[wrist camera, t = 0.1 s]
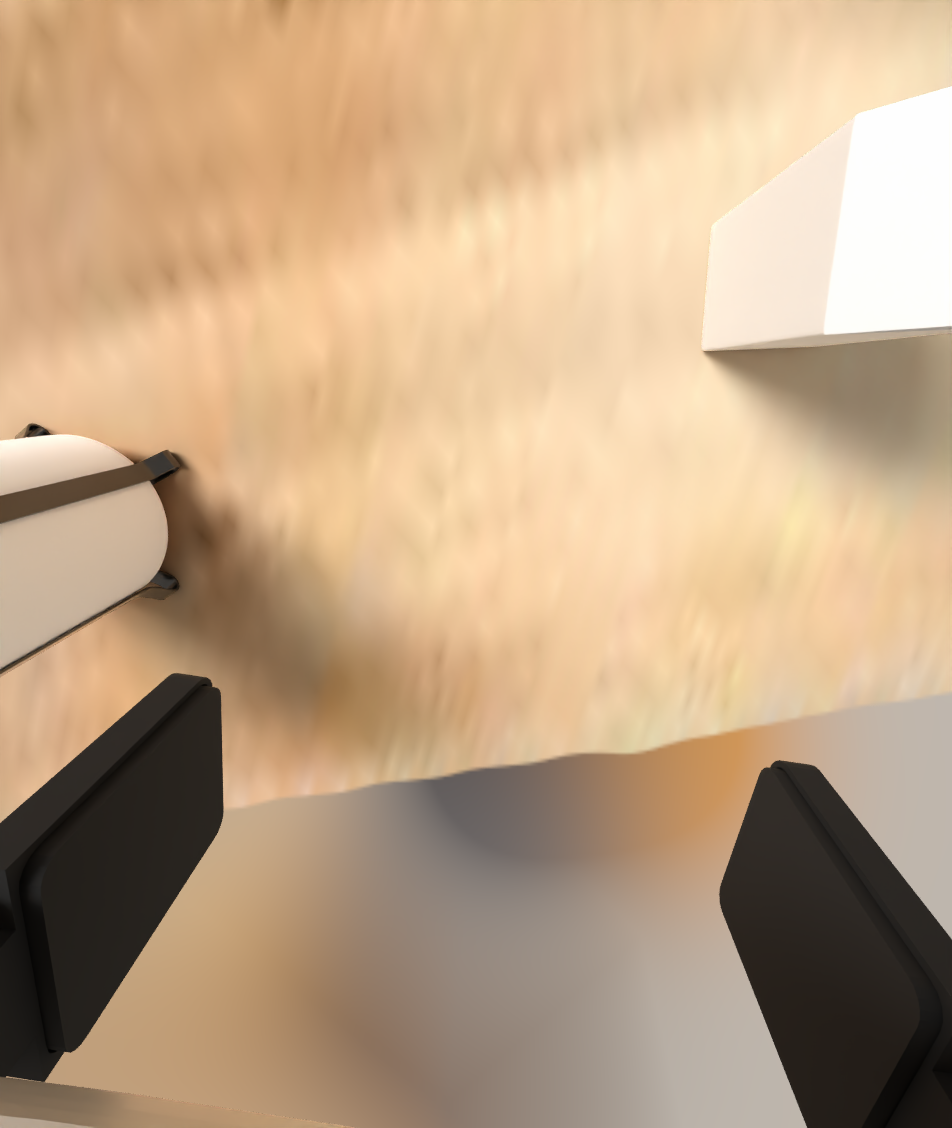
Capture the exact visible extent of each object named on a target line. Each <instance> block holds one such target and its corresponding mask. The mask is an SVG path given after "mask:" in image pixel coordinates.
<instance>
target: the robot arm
mask: <svg viewBox="0 0 952 1128" xmlns="http://www.w3.org/2000/svg"><path fill="white" fill-rule="evenodd" d="M222 818H223V768H222V723H221V693H220V690H219V689H218V688H215V687H212V683H211V680H210V679H208V678H206V677H199V676H192V675H186V674H179V673H174V674H171V675H170V676H168V677H167V678H166V679H165V680H164V681H163V682H161V683H160V684H159V685H158V686H157V687H156V688H155V689H153V690H152V691H151V692H150V693H149V694H148V695H147V696H145V697H144V698H143V699H142V700H141V701H140V702H139V703H137V704H136V705H135V706H134V707H133V708H132V709H131V710H129V711H128V712H127V713H126V714H125V715H124V716H122V717H121V718H120V719H119V720H118V721H117V722H116V723H114V724H113V725H112V726H111V727H110V728H109V729H108V730H106V731H105V732H104V733H103V734H102V735H101V736H100V737H98V738H97V739H96V740H95V741H94V742H93V743H92V744H90V745H89V746H88V747H87V748H86V749H85V750H84V751H82V752H81V753H80V754H79V755H78V756H77V757H75V758H74V759H73V760H72V761H71V762H70V763H69V764H67V765H66V766H65V767H64V768H63V769H62V770H61V771H59V772H58V773H57V774H56V775H55V776H54V777H53V778H51V779H50V780H49V781H48V782H47V783H46V784H45V785H43V786H42V787H41V788H40V789H39V790H38V791H37V792H35V793H34V794H33V795H32V796H31V797H30V798H29V799H27V800H26V801H25V802H24V803H23V804H22V805H20V806H19V807H18V808H17V809H16V810H15V811H14V812H12V813H11V814H10V815H9V816H8V817H7V818H6V819H4V820H3V821H2V822H1V823H0V1128H355V1127H349V1126H342V1125H335V1124H329V1123H322V1122H315V1121H309V1120H301V1119H296V1118H289V1117H283V1116H275V1115H269V1114H263V1113H256V1112H249V1111H243V1110H236V1109H229V1108H223V1107H216V1106H209V1105H203V1104H196V1103H189V1102H183V1101H176V1100H169V1099H163V1098H157V1097H150V1096H143V1095H136V1094H130V1093H122V1092H115V1091H107V1090H99V1089H91V1088H84V1087H76V1086H68V1085H60V1084H52V1083H45V1080H46V1079H47V1077H48V1076H49V1074H50V1073H51V1071H52V1070H53V1068H54V1067H55V1065H56V1064H57V1062H58V1061H59V1059H60V1058H61V1056H62V1055H63V1053H64V1052H70V1053H71V1052H72V1051H74V1050H76V1049H77V1048H78V1047H79V1046H80V1045H81V1044H82V1042H83V1041H84V1039H85V1038H86V1036H87V1035H88V1034H89V1032H90V1030H91V1029H92V1027H93V1026H94V1024H95V1023H96V1021H97V1020H98V1018H99V1017H100V1015H101V1013H102V1012H103V1010H104V1009H105V1007H106V1006H107V1004H108V1003H109V1001H110V999H111V998H112V996H113V995H114V993H115V992H116V990H117V989H118V987H119V986H120V984H121V982H122V981H123V979H124V978H125V976H126V975H127V973H128V972H129V970H130V968H131V967H132V965H133V964H134V962H135V961H136V959H137V957H138V956H139V954H140V953H141V951H142V950H143V948H144V947H145V945H146V944H147V942H148V940H149V939H150V937H151V936H152V934H153V933H154V931H155V930H156V928H157V927H158V925H159V923H160V922H161V920H162V919H163V917H164V916H165V914H166V912H167V911H168V909H169V908H170V906H171V905H172V903H173V902H174V900H175V899H176V897H177V895H178V894H179V892H180V891H181V889H182V888H183V886H184V885H185V883H186V882H187V880H188V878H189V877H190V875H191V874H192V872H193V871H194V869H195V867H196V866H197V864H198V863H199V861H200V860H201V858H202V857H203V855H204V854H205V852H206V850H207V849H208V847H209V846H210V844H211V843H212V841H213V840H214V838H215V836H216V835H217V833H218V831H219V828H220V826H221V822H222ZM719 895H720V905H721V909H722V912H723V915H724V918H725V920H726V923H727V925H728V928H729V930H730V932H731V935H732V938H733V940H734V943H735V945H736V948H737V951H738V953H739V956H740V958H741V961H742V963H743V966H744V968H745V971H746V973H747V976H748V978H749V981H750V983H751V986H752V989H753V991H754V994H755V996H756V998H757V1001H758V1004H759V1006H760V1009H761V1011H762V1014H763V1017H764V1019H765V1022H766V1024H767V1027H768V1029H769V1032H770V1034H771V1037H772V1039H773V1042H774V1045H775V1047H776V1049H777V1052H778V1055H779V1057H780V1060H781V1062H782V1065H783V1067H784V1070H785V1072H786V1075H787V1078H788V1080H789V1082H790V1085H791V1088H792V1090H793V1093H794V1095H795V1098H796V1100H797V1103H798V1105H799V1108H800V1111H801V1113H802V1116H803V1118H804V1121H805V1123H806V1126H807V1128H952V939H951V938H950V937H949V935H948V934H947V933H946V931H945V930H944V929H943V928H942V926H941V925H940V924H939V923H938V921H937V920H936V919H935V917H934V916H933V915H932V914H931V912H930V911H929V910H928V909H927V907H926V906H925V905H924V903H923V902H922V901H921V899H920V898H919V897H918V896H917V894H916V893H915V892H914V891H913V889H912V888H911V887H910V885H909V884H908V883H907V882H906V880H905V879H904V878H903V877H902V875H901V874H900V873H899V871H898V870H897V869H896V868H895V866H894V865H893V864H892V862H891V861H890V860H889V859H888V857H887V856H886V855H885V854H884V852H883V851H882V850H881V849H880V847H879V846H878V845H877V843H876V842H875V841H874V840H873V838H872V837H871V836H870V834H869V833H868V832H867V830H866V829H865V828H864V827H863V825H862V824H861V823H860V822H859V820H858V819H857V818H856V816H855V815H854V814H853V813H852V811H851V810H850V809H849V808H848V806H847V805H846V804H845V802H844V801H843V800H842V799H841V797H840V796H839V795H838V793H837V792H836V791H835V790H834V788H833V787H832V786H831V784H830V783H829V782H828V781H827V779H826V778H825V777H824V775H823V774H822V773H821V772H820V770H818V769H817V768H816V767H815V766H812V765H807V764H801V763H794V762H787V761H780V760H779V761H775V762H774V763H773V764H772V765H771V767H770V768H764V769H763V770H762V771H761V773H760V775H759V777H758V780H757V783H756V786H755V789H754V792H753V794H752V798H751V800H750V803H749V806H748V809H747V812H746V814H745V817H744V820H743V823H742V826H741V829H740V832H739V834H738V837H737V840H736V843H735V846H734V849H733V851H732V855H731V857H730V860H729V863H728V866H727V869H726V872H725V874H724V877H723V880H722V883H721V886H720V894H719ZM6 1076H9V1077H16V1078H22V1079H28V1080H21V1079H13V1078H6ZM29 1080H34V1081H29ZM37 1081H41V1082H37Z"/></svg>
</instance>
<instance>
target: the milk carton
mask: <svg viewBox="0 0 952 1128" xmlns="http://www.w3.org/2000/svg"><path fill="white" fill-rule="evenodd" d="M949 333H952V86H951V87H947V88H944V89H941V90H937V91H934V92H930V93H927V94H923V95H920V96H917V97H913V98H910V99H906V100H903V101H899V102H896V103H893V104H889V105H886V106H882V107H879V108H875V109H872V110H869V111H865V112H862V113H858V114H857V115H856V116H855V117H854V118H852V119H851V120H850V121H848V122H847V123H846V124H844V125H843V126H842V127H840V128H839V129H838V130H836V131H835V132H834V133H833V134H831V135H830V136H829V137H827V138H826V139H825V140H823V141H822V142H821V143H819V144H818V145H817V146H815V147H814V148H813V149H811V150H810V151H809V152H807V153H806V154H805V155H804V156H802V157H801V158H800V159H798V160H797V161H796V162H794V163H793V164H792V165H790V166H789V167H788V168H786V169H785V170H784V171H782V172H781V173H780V174H778V175H777V176H776V177H775V178H773V179H772V180H771V181H769V182H768V183H767V184H765V185H764V186H763V187H761V188H760V189H759V190H757V191H756V192H755V193H753V194H752V195H751V196H749V197H748V198H747V199H746V200H744V201H743V202H742V203H740V204H739V205H738V206H736V207H735V208H734V209H732V210H731V211H730V212H728V213H727V214H726V215H724V216H723V217H722V218H720V219H719V220H718V221H717V222H715V223H714V224H713V225H712V228H711V236H710V248H709V260H708V272H707V284H706V296H705V308H704V320H703V332H702V350H703V351H720V350H745V349H770V348H795V347H818V346H828V345H838V344H848V343H858V342H869V341H879V340H889V339H899V338H909V337H919V336H929V335H939V334H949Z"/></svg>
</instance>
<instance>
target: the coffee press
mask: <svg viewBox="0 0 952 1128" xmlns="http://www.w3.org/2000/svg"><path fill="white" fill-rule="evenodd" d="M26 437H28V438H26ZM180 467H181V465H180V464H179V463H178V461H177V460H176V459H175V458H174V457H173V455H172V454H171V453H170V452H169V451H168V450H165V451H162V452H160V453H158V454H156V455H154V456H152V457H150V458H148V459H146V460H144V461H142V462H139V463H136V464H134V463H133V462H132V461H130V460H129V459H128V458H127V457H125V456H124V455H123V454H121V453H120V452H118V451H116V450H115V449H113V448H111V447H109V446H107V445H105V444H103V443H101V442H98V441H96V440H93V439H89V438H86V437H81V436H76V435H50V434H49V432H48V431H47V430H46V429H44V428H43V427H41V426H39V425H37V424H29V425H28V426H26V427H25V428H24V429H23V430H22V431H21V432H20V433H19V434H17V435H16V437H15V439H12V440H4V441H0V677H1V676H3V675H5V674H6V673H8V672H10V671H11V670H13V669H15V668H16V667H18V666H20V665H22V664H23V663H25V662H27V661H28V660H30V659H32V658H33V657H35V656H37V655H39V654H40V653H42V652H44V651H45V650H47V649H49V648H51V647H52V646H54V645H56V644H57V643H59V642H61V641H62V640H64V639H66V638H68V637H69V636H71V635H73V634H74V633H76V632H78V631H79V630H81V629H83V628H85V627H86V626H88V625H90V624H91V623H93V622H95V621H96V620H98V619H100V618H102V617H103V616H105V615H107V614H108V613H110V612H112V611H114V610H115V609H117V608H119V607H120V606H122V605H124V604H126V603H127V602H129V601H131V600H133V599H135V598H138V597H146V598H153V599H158V600H164V599H166V598H167V597H169V596H170V595H171V594H173V593H174V592H176V591H177V590H178V589H179V583H178V581H177V579H176V578H175V577H173V576H172V575H170V574H168V573H165V572H162V571H159V569H160V567H161V565H162V562H163V560H164V557H165V554H166V550H167V544H168V526H167V519H166V515H165V511H164V508H163V505H162V503H161V500H160V498H159V496H158V494H157V492H156V490H155V489H154V487H153V485H154V484H156V483H157V482H159V481H161V480H162V479H164V478H166V477H168V476H169V475H171V474H173V473H174V472H176V471H177V470H178V469H179V468H180ZM149 582H152V583H155V584H158V585H160V586H161V587H163V588H161V587H147V588H145V589H143V590H141V591H139V590H140V589H142V588H143V587H144V586H146V585H147V584H148V583H149ZM137 591H139V592H137ZM136 592H137V593H136ZM134 593H135V594H134ZM133 594H134V595H133ZM131 595H132V596H131ZM129 596H130V597H129ZM126 598H127V599H126ZM124 599H125V600H124ZM119 602H120V603H119ZM114 605H115V606H114ZM112 606H113V607H112ZM107 609H108V610H107ZM100 613H101V614H100ZM88 620H89V621H88ZM81 624H82V625H81ZM55 639H56V640H55ZM29 654H30V655H29Z"/></svg>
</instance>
